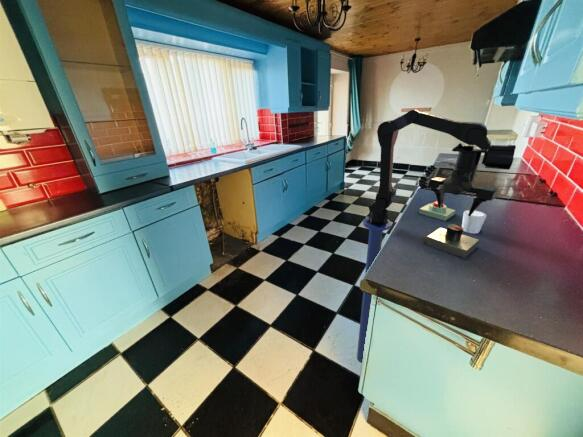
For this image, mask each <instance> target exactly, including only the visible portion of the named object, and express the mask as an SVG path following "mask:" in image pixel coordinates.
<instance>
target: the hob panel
mask: <svg viewBox="0 0 583 437" xmlns="http://www.w3.org/2000/svg"><path fill="white" fill-rule="evenodd" d="M446 230H447V228H443V227H439V228H437V229H436V230H435V231H433V232H432V233H430V234H429V235H427V236H426V240H425V245H427V246H430V247H433V248H435V249H438V250H439V251H443V252H446V253H448V254H450V255H454V256H456V257H458V258H462V259H465V258H467V257H468V256H469V255H470V254H471V253H473V251H474V250H475V249H476V248H478V244H479V241H480V239H478V238H475V237H473V236H472V237H471V236H469V235H465V234H462V236H461V239H460V240H459V241H451V240H448V239H447V238H445V234H446Z"/></svg>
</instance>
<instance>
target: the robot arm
mask: <svg viewBox="0 0 583 437" xmlns="http://www.w3.org/2000/svg"><path fill="white" fill-rule="evenodd" d="M411 124H414V125H416V126H420V127H422V128H423V127H424V128H427V129H431V130H433V131H437V132H440V133H444V134H448V135H450V136H451V137H453V138H455V139H456V140H458V141H460V142H459V143H458V144H457V145H456V146H454V147H453V148H452V150H451V151H452V152H456V153H457V152H458V155H457V157H456V162H455V166H454V169H452V171H451V174H450V176H449V177H447V178H445V177H441V176H435V177H433V178H430V179H429V180H428V181H427V185H426V187H427V188H428V189H430V191H432V192H433V193H434V195H435V196H436V201H437V202H438V207H439V208H441V207H442V204H443V203H444V200H445V196H446V194H451V195H453V196H459V195H461V193H463V192H465V193H470V194H475V197H474V198H473V202H472V204H471V207H470V208H469V210H470V211H469V215H468V216H471V215H472V213H473V212H474V211H475V210H476V211H477V209H478V208H479V206H480V205H481V204H483V203H486V202H488V201H493V200H494V199H496V198H497V197H498V195H499V194H500V189H499V188H498V187H494V186H491V185H490V186H489V185H482V186H481V187H477V186H474V184H475V177H476V174H477V173H478V167H479V165H480V164H479V163H481V165H483V167H484V168H485V169H495V170H505V171H506V170H508V171H509V170H510V169H511V167H512V165H513V163H514V160H515V159H514V156H515V152H516V148H517V146H516V145H515V144H505V145H503V144H502V145H501V144H492V141H491V140H490V139H489V137H488V127H487V126H486V124H484V123H482V122H473V121H458V120H453V119H449V118H445V117H441V116H438V115H434V114H431V113H428V112H423V111H420V110H418V109H410V110H409V111H408V112H406V113H404V114H403V115H401V116H398V117H396V118H393V120H392V119H389V120H387V121H383V122H381V123H380V124H379V125H378V126H377V129H376V134H377V141H378V144H379V147H380V165H379V186H378V188H377V192H376V194H375V199H374V201H373V202H372V203H370V205H368V211H369V215H368V217H369V220H367V221H366V222H367V223H370V224H373V225H375V226H378V227H380V226H382V225H384V224H386V223H388V221H387V219H388V220H389V213H388V208H389V207H390V206H391V205H392V204H393V203H394V201H395V200H396V199H397V197H398V196H397V190H398V189H397V187H393V169H394V168H393V167H394V166H393V165H394V151H395V149H394V148H395V144H396V142H397V139H398V135H399V132H400V130H402V129H404V128H406V127H407V126H410V125H411ZM463 143H464V144H466V145H464V144H463ZM475 146H476V147H478V148H475ZM482 154H483V155H482ZM481 156H482V160H481ZM480 161H481V162H480Z"/></svg>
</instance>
